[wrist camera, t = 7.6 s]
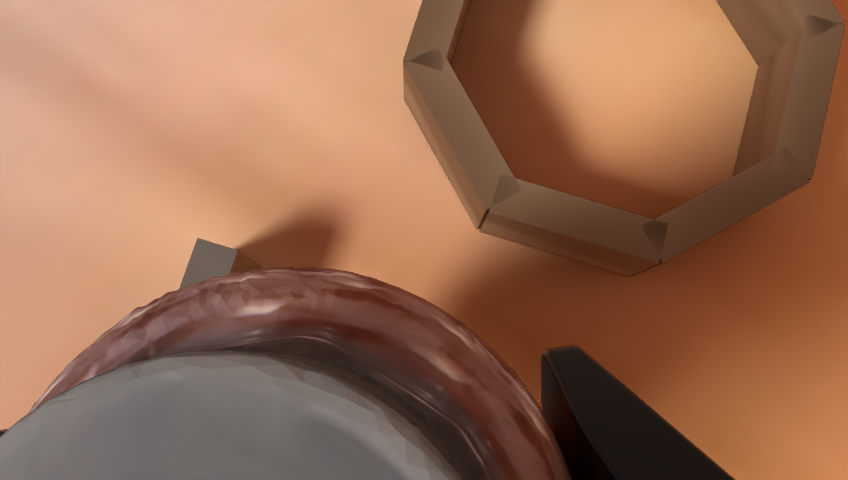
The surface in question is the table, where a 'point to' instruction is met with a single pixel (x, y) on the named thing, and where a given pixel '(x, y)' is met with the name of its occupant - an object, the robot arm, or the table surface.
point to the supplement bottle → (285, 392)
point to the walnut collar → (611, 227)
